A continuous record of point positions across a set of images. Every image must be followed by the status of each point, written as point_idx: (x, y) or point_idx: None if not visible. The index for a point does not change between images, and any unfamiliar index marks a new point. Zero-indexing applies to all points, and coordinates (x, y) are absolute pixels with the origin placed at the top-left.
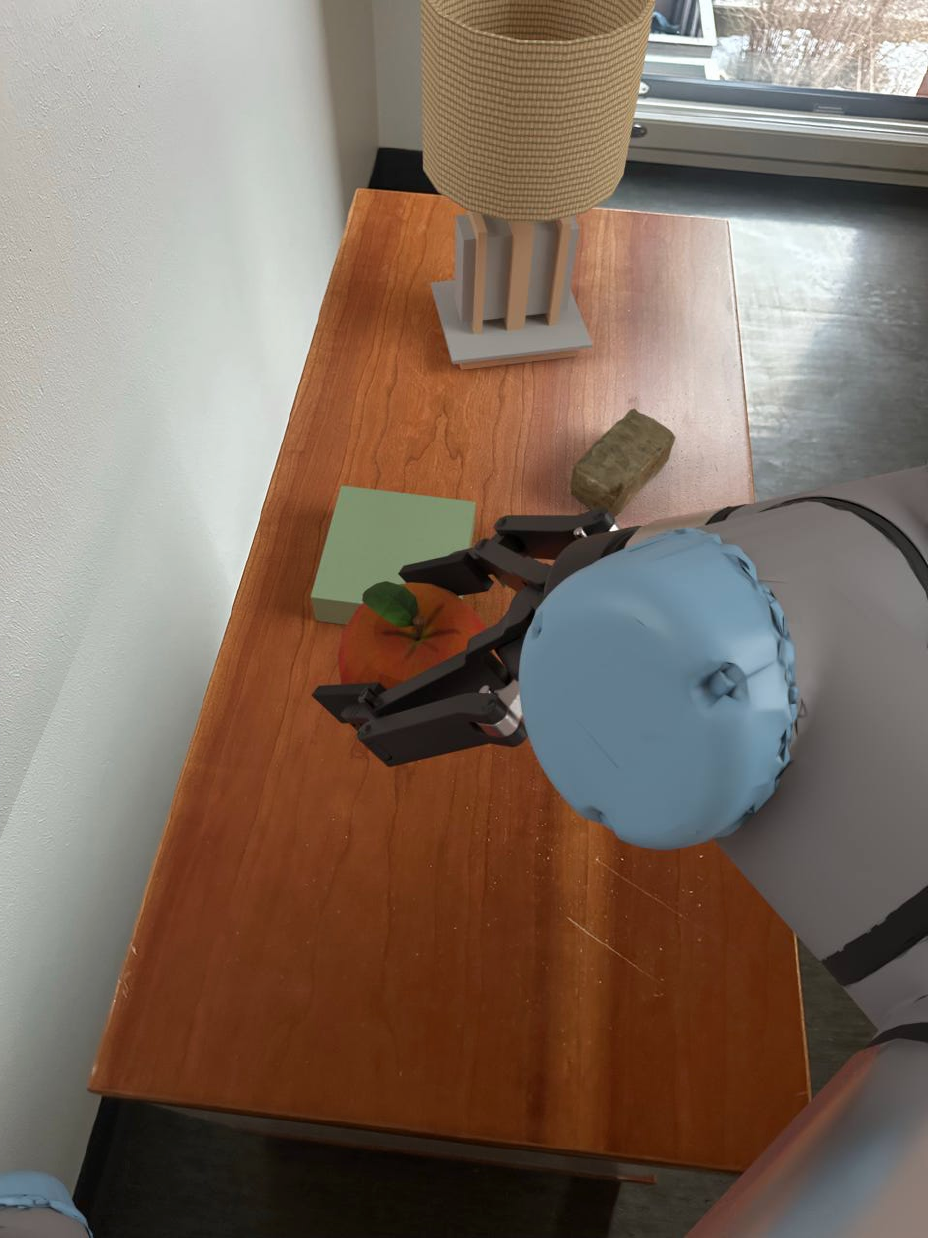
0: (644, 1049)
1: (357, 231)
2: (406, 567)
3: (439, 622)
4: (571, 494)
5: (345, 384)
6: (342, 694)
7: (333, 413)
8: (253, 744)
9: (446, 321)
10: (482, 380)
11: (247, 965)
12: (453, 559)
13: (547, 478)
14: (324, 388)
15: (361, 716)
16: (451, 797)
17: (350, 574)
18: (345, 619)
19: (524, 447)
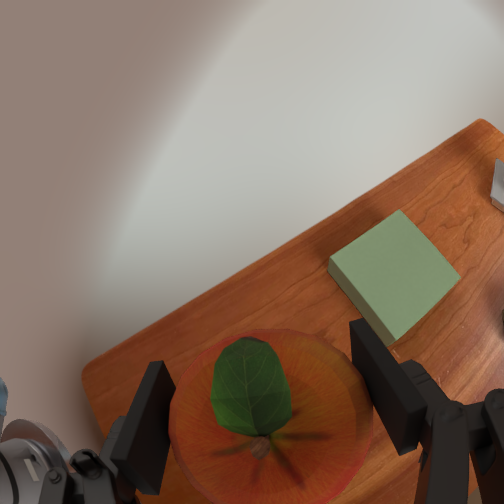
0: None
1: (474, 122)
2: (362, 324)
3: (302, 451)
4: (502, 312)
5: (436, 168)
6: (130, 406)
7: (422, 176)
8: (235, 307)
9: (496, 177)
10: (497, 216)
11: None
12: (403, 393)
13: (497, 292)
14: (425, 163)
15: (102, 451)
16: None
17: (362, 262)
18: (340, 284)
19: (497, 265)
